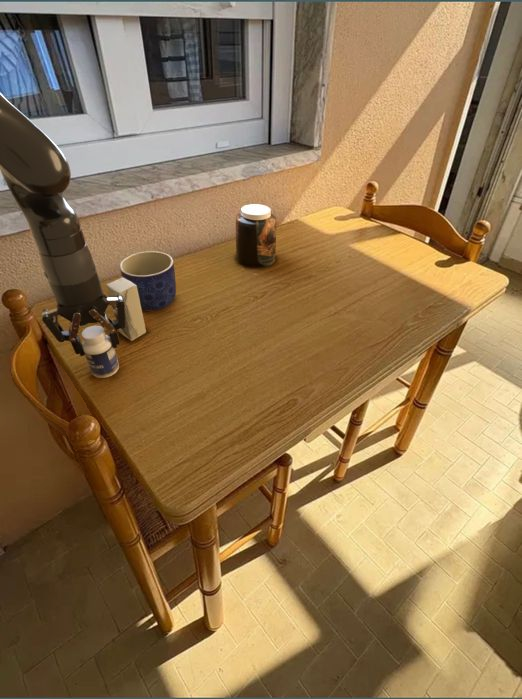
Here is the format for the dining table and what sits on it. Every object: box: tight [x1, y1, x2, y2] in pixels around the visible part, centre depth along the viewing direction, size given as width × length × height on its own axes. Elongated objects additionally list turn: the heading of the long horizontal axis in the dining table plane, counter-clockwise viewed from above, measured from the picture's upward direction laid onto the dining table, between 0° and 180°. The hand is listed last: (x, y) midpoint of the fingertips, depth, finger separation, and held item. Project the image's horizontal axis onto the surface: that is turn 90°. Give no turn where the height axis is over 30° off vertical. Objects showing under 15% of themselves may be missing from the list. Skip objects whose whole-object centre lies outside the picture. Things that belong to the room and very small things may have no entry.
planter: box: [119, 250, 177, 312], centre depth 94 cm, size 12×12×11 cm
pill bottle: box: [81, 325, 120, 379], centre depth 74 cm, size 5×5×10 cm
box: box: [106, 276, 147, 342], centre depth 83 cm, size 5×4×13 cm
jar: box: [235, 203, 277, 269], centre depth 111 cm, size 12×12×15 cm
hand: (98, 349), depth 74 cm, fingers closed on pill bottle, 5 cm apart
